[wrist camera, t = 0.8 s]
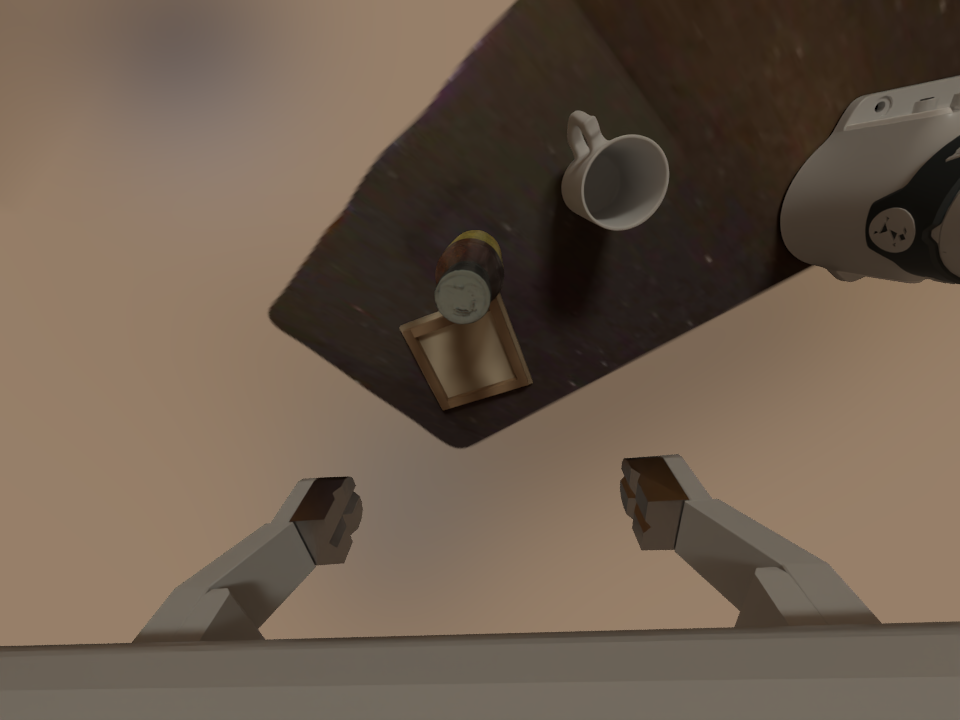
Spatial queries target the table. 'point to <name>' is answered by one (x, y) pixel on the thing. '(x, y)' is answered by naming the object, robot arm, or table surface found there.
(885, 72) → the table surface
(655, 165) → the mug
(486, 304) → the sauce bottle
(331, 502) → the robot arm
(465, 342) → the seat plate
